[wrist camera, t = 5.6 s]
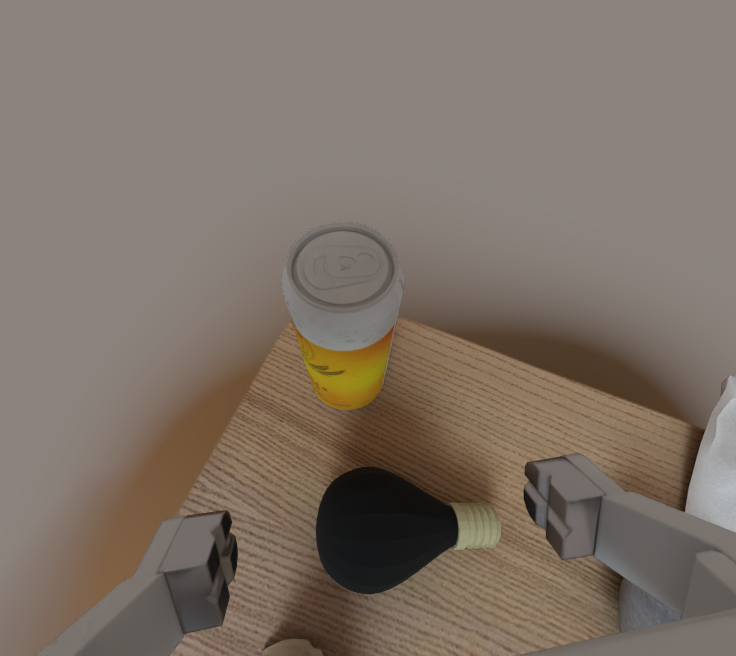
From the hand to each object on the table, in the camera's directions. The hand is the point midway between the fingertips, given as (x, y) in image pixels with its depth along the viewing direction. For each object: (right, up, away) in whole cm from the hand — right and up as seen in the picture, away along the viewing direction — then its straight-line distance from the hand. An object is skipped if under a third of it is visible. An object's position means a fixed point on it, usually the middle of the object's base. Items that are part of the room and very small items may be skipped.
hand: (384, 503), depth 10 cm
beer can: (-2, +1, +20) cm, 20 cm away
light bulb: (+2, -9, +15) cm, 18 cm away
